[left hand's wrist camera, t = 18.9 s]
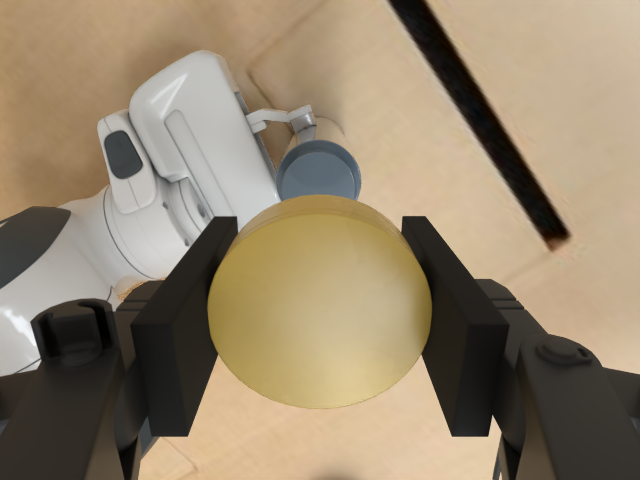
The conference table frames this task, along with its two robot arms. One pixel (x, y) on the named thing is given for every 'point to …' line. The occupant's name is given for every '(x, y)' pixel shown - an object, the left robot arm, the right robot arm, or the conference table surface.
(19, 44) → the conference table surface
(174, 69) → the right robot arm
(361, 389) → the lid
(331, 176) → the jar
